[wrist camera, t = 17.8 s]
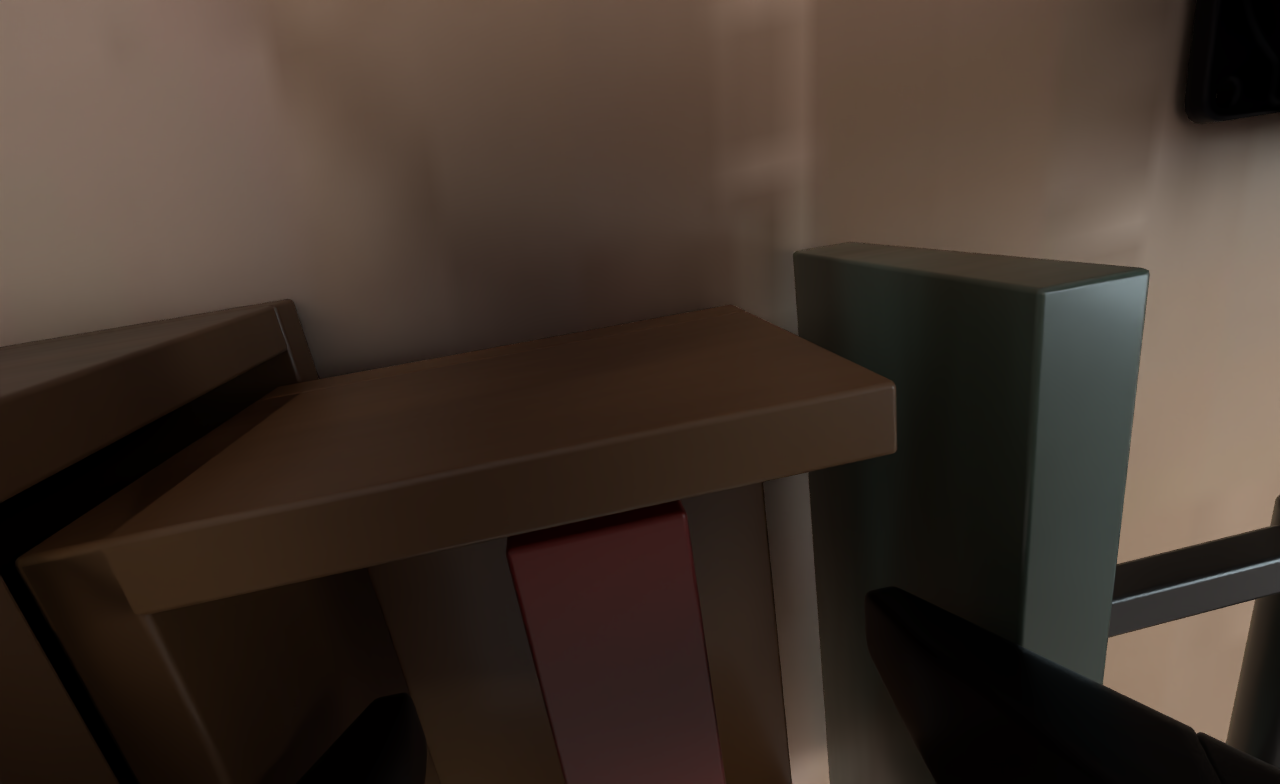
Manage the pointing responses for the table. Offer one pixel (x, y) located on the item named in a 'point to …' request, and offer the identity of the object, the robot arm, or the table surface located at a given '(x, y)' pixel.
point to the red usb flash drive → (620, 647)
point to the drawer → (636, 478)
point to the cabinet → (105, 486)
